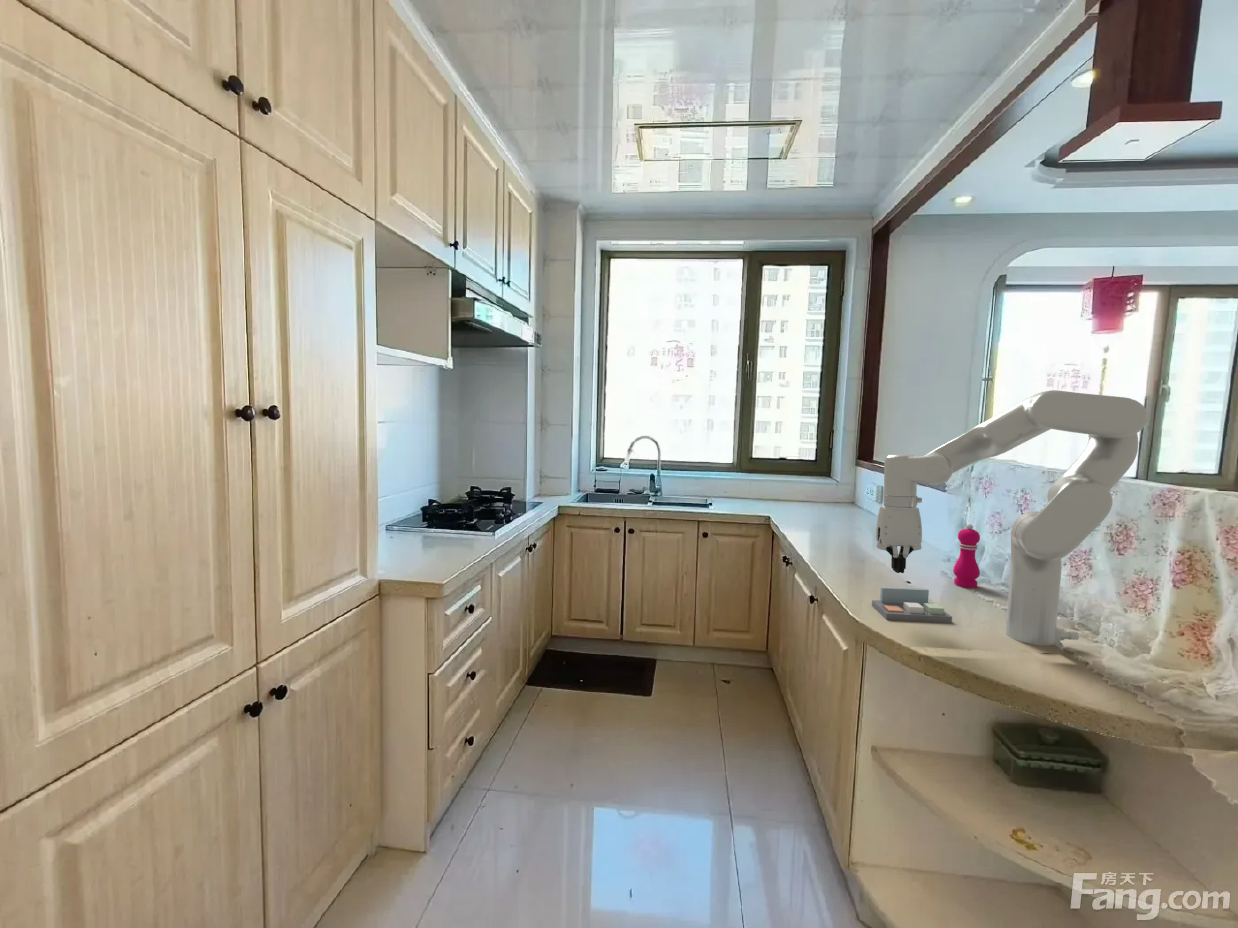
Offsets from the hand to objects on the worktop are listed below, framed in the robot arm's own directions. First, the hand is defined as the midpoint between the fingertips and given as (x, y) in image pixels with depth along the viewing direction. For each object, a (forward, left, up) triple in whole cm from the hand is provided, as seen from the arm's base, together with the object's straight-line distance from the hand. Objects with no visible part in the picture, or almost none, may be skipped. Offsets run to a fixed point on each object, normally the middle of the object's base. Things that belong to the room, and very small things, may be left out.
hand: (898, 571), depth 142 cm
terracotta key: (+1, 0, -13) cm, 13 cm away
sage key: (-9, 0, -12) cm, 15 cm away
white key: (-4, 0, -12) cm, 13 cm away
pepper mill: (-35, -36, -14) cm, 52 cm away
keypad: (-4, -2, -13) cm, 14 cm away
